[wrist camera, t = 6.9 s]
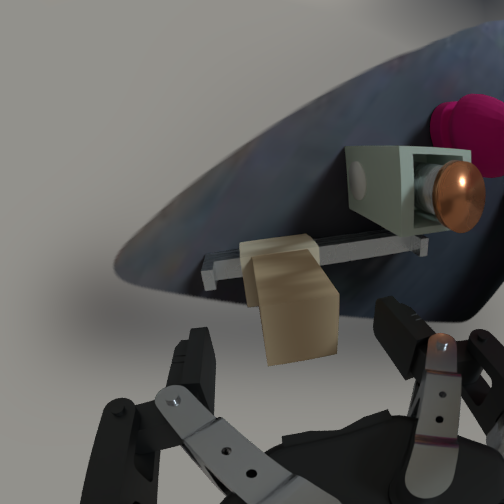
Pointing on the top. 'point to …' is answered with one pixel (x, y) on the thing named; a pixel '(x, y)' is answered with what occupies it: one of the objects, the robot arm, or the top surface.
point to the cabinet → (393, 185)
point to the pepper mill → (472, 130)
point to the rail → (321, 252)
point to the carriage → (291, 298)
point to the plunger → (450, 193)
